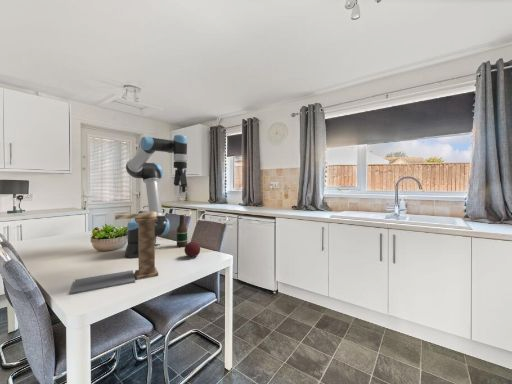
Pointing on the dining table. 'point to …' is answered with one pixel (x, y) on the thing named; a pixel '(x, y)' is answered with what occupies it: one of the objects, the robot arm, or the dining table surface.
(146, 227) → the stand
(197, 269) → the dining table surface
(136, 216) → the spoon
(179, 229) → the beer bottle
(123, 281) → the mat
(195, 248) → the decorative ball
